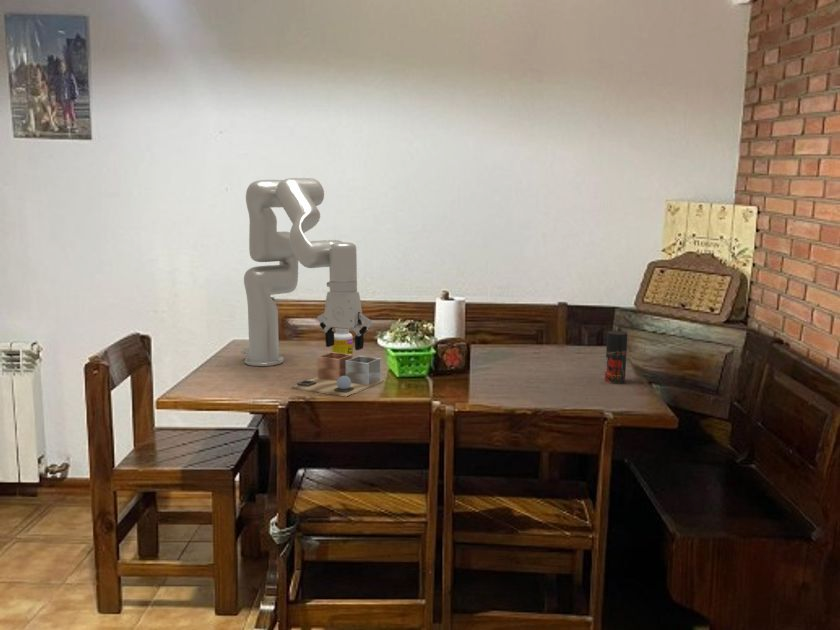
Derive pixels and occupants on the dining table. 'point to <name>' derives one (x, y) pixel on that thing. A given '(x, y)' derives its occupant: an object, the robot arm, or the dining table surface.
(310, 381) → the stand
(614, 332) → the deodorant
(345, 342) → the supplement bottle
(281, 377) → the dining table surface
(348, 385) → the slate ball
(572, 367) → the dining table surface
